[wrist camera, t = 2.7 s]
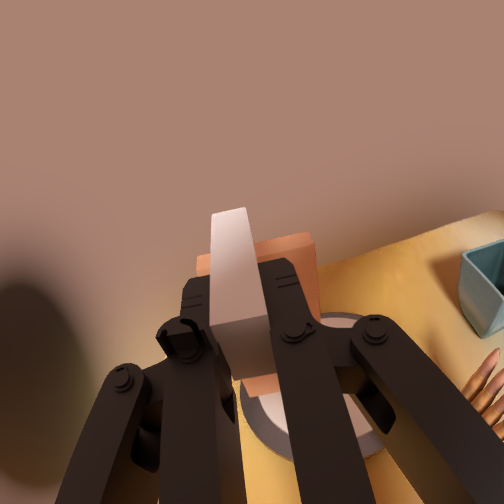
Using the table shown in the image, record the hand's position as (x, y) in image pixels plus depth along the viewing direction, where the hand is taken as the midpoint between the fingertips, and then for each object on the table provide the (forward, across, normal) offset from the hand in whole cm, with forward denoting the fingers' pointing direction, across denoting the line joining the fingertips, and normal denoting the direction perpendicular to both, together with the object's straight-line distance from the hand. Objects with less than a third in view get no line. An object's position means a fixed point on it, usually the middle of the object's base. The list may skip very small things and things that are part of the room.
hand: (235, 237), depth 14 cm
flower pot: (+5, +28, -22) cm, 36 cm away
